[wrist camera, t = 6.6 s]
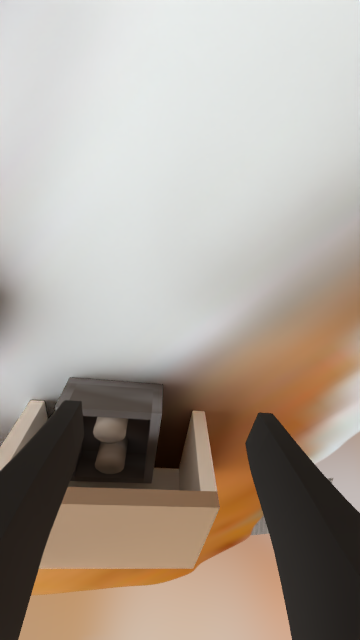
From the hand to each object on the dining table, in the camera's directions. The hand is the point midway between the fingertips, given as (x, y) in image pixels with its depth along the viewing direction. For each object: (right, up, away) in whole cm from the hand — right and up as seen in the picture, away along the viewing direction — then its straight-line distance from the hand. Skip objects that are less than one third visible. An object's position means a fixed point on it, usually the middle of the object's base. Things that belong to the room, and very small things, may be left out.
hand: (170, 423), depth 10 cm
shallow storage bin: (-6, -8, +15) cm, 18 cm away
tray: (-6, -5, +14) cm, 16 cm away
